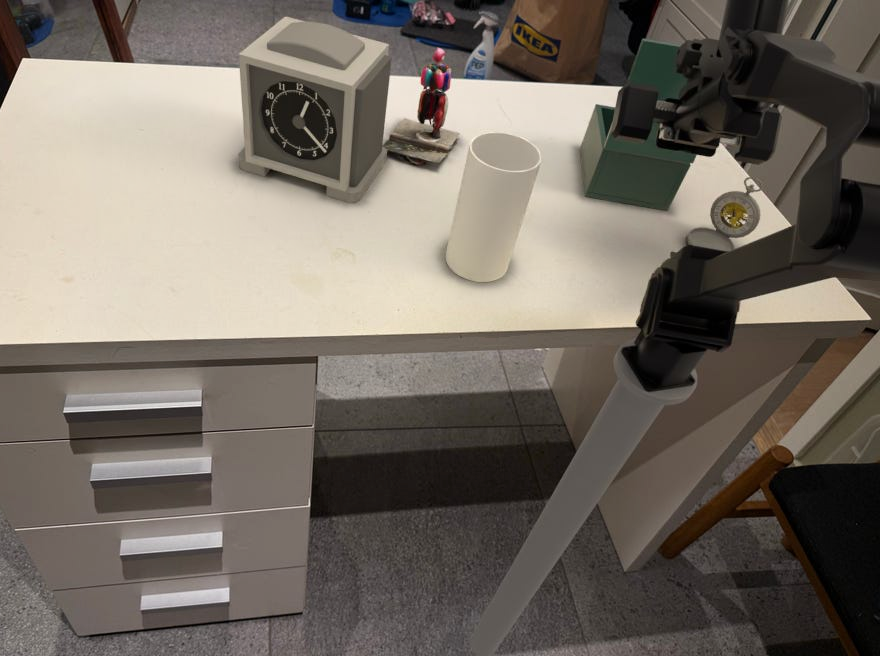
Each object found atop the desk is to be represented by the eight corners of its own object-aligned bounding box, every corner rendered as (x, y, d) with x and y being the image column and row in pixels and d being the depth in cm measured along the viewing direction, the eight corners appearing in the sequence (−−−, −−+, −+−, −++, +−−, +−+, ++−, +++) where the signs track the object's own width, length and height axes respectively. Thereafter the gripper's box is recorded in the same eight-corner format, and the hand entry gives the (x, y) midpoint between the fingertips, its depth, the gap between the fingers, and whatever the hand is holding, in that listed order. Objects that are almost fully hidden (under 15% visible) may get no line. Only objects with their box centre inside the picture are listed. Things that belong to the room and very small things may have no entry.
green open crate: (579, 148, 108) (595, 103, 102) (655, 162, 108) (676, 117, 102) (584, 196, 99) (602, 149, 93) (667, 210, 99) (690, 165, 93)
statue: (402, 130, 107) (417, 31, 98) (457, 145, 106) (477, 47, 96) (378, 154, 99) (392, 50, 89) (437, 171, 98) (457, 67, 88)
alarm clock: (235, 167, 93) (224, 35, 79) (276, 125, 102) (273, -2, 88) (356, 204, 91) (367, 74, 77) (388, 157, 99) (403, 33, 86)
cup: (434, 265, 84) (457, 154, 72) (460, 233, 89) (486, 123, 77) (493, 291, 82) (527, 181, 70) (516, 256, 87) (551, 148, 75)
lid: (642, 38, 83) (643, 40, 82) (740, 55, 83) (742, 57, 82) (603, 145, 93) (604, 148, 92) (691, 161, 93) (692, 163, 92)
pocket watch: (686, 256, 92) (721, 195, 84) (683, 221, 97) (715, 161, 90) (745, 270, 91) (785, 210, 84) (738, 234, 97) (776, 175, 89)
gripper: (826, 42, 70) (749, 92, 86) (653, 12, 70) (608, 67, 86) (804, 147, 71) (732, 178, 86) (633, 117, 71) (591, 154, 86)
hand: (666, 142), depth 86 cm, fingers closed
